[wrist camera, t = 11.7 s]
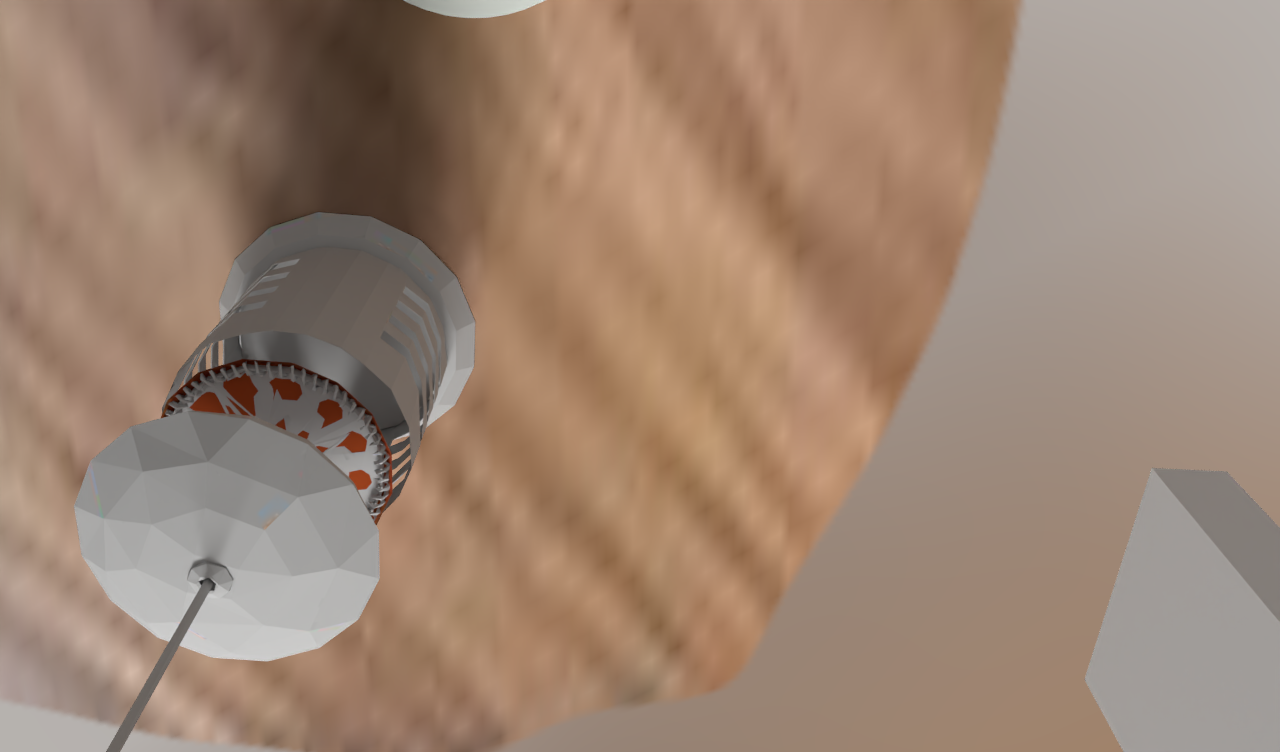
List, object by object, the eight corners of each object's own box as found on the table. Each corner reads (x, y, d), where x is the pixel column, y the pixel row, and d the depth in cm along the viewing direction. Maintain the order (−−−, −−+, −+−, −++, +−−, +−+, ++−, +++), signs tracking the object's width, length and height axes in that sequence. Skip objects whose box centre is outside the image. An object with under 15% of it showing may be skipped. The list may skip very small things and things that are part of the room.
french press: (503, 252, 40) (341, 781, 18) (439, 505, 45) (249, 1169, 22) (234, 179, 39) (-310, 652, 16) (200, 448, 44) (-254, 1094, 21)
